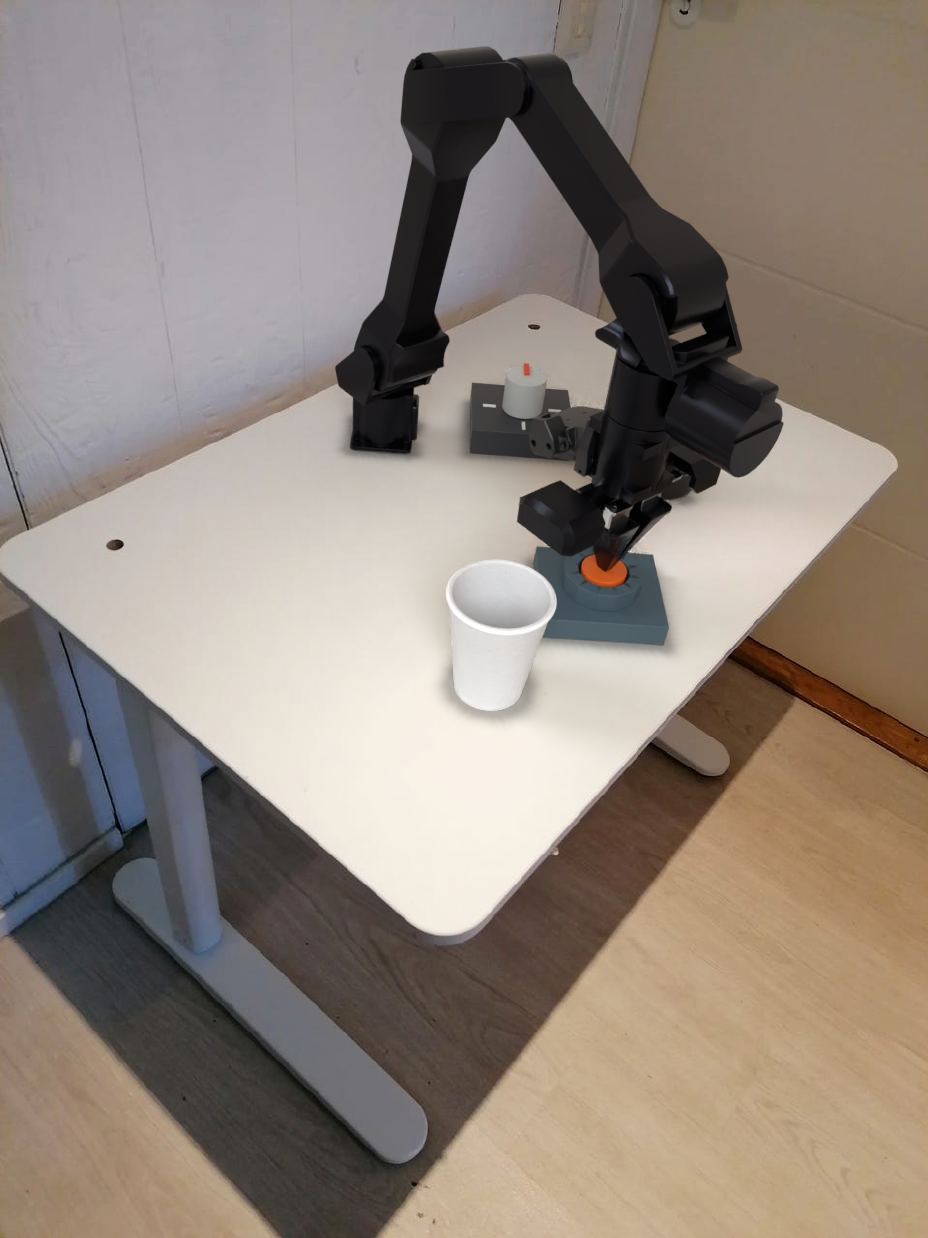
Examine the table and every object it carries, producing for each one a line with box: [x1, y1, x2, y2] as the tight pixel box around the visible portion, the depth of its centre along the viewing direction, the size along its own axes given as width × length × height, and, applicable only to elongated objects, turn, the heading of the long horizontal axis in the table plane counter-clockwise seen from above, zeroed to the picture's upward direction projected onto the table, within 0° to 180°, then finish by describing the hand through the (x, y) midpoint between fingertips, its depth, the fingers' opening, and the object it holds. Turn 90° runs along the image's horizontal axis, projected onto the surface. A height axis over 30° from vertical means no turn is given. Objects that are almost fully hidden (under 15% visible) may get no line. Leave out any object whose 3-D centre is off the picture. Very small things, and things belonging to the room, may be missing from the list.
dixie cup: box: [445, 558, 557, 712], centre depth 76 cm, size 8×8×10 cm
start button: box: [580, 554, 627, 587], centre depth 86 cm, size 4×4×2 cm
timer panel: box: [469, 382, 572, 462], centre depth 107 cm, size 11×10×3 cm
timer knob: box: [502, 362, 548, 419], centre depth 105 cm, size 4×4×4 cm
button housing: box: [532, 545, 670, 646], centre depth 87 cm, size 11×10×4 cm
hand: (604, 567), depth 85 cm, fingers closed, pressing on start button
